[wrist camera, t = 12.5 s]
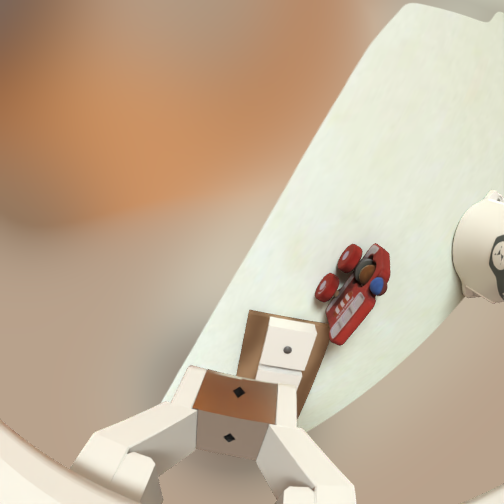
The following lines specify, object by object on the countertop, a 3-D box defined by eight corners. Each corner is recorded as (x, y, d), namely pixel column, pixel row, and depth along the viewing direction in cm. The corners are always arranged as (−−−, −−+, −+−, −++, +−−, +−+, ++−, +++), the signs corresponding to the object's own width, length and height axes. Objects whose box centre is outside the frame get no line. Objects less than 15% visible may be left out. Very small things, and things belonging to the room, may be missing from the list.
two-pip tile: (301, 365, 42) (302, 377, 39) (290, 394, 44) (290, 406, 41) (259, 358, 42) (258, 370, 40) (252, 388, 44) (250, 399, 41)
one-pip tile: (315, 324, 40) (317, 334, 37) (303, 359, 42) (304, 371, 39) (269, 316, 40) (268, 326, 37) (261, 352, 42) (259, 364, 39)
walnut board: (332, 324, 41) (335, 335, 38) (296, 416, 47) (296, 428, 44) (249, 309, 42) (246, 319, 39) (230, 406, 48) (227, 417, 45)
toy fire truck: (392, 256, 38) (422, 281, 28) (341, 320, 41) (356, 359, 31) (357, 228, 37) (382, 247, 27) (306, 297, 41) (313, 335, 31)
